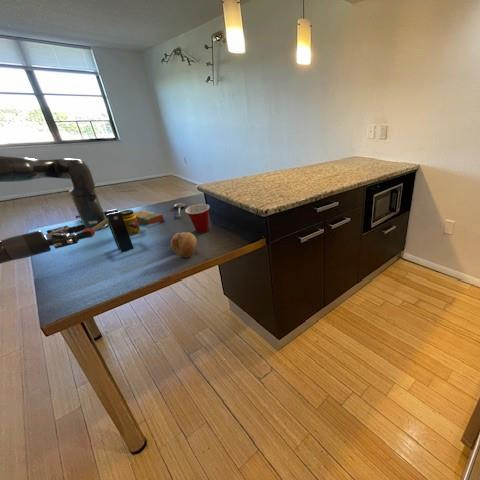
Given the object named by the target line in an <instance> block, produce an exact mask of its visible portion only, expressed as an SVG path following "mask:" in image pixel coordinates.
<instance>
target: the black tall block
mask: <svg viewBox="0 0 480 480" xmlns="http://www.w3.org/2000/svg"><path fill="white" fill-rule="evenodd" d="M113 211H114V213H111V212H113ZM103 212H104V215H105V217H106V219H107V218H108V220H109V222H108V227H109V230H110V232H111V235H112V237H113V240H114V243H115V245H116V247H117V249H118V250H119V251H120V253H124V252H127V251H131V250H133V249H135V247H134V245H133V242H132V239H131V235H129V234H128V231H127V228H126V225H125V223H124V220H123V217H122V215H121V211H120V210H118V208H114V209H110V210H105V211H103Z"/></svg>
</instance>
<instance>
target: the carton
mask: <svg viewBox="0 0 480 480" xmlns="http://www.w3.org/2000/svg"><path fill="white" fill-rule="evenodd" d="M133 212H134V215H135V216H136V218H137V221H138V224H139V225H141V226H149V225H151V224H152V225H153V224H156V223H160V224H162V223H164V222H165V219H164V216H163V214H161V213H156V212H153V211H149V210H146V209H141V210H137V211H133Z"/></svg>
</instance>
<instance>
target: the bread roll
mask: <svg viewBox="0 0 480 480" xmlns="http://www.w3.org/2000/svg"><path fill="white" fill-rule="evenodd" d="M197 242H198V240H197V237H196V236H195V235H194V233H191V232H188V231H187V232H186V231H185V232H178V233H175V234H174V235H173V236H172V238H171V240H170V248H171V250H172V251H173V252H174V253H175V255H177V256H179V257H181V258H189V257H191V256H192V255H193V254H194V252H195V251H196V247H197V244H198V243H197Z"/></svg>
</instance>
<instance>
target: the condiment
mask: <svg viewBox="0 0 480 480" xmlns="http://www.w3.org/2000/svg"><path fill="white" fill-rule="evenodd" d="M120 212H121V215H122V217H123V220H124V223H125V225H126V228H127V231H128V234H129V236H135V235H138V234H140V233H141V232H142V230H141V227H140V224H138V221H137V218H136V216H135V215H134V212H135V211H134V210H133V209H125V210H122V211H120Z"/></svg>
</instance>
